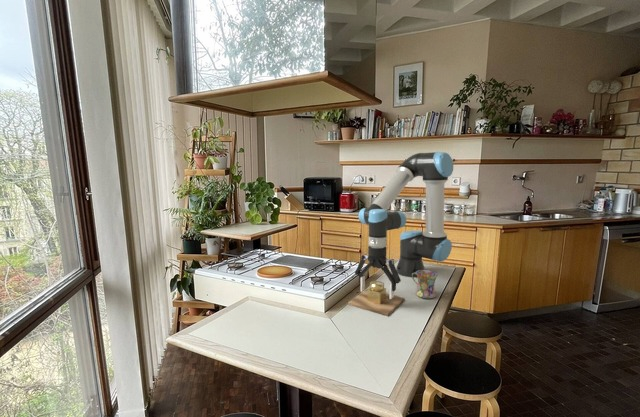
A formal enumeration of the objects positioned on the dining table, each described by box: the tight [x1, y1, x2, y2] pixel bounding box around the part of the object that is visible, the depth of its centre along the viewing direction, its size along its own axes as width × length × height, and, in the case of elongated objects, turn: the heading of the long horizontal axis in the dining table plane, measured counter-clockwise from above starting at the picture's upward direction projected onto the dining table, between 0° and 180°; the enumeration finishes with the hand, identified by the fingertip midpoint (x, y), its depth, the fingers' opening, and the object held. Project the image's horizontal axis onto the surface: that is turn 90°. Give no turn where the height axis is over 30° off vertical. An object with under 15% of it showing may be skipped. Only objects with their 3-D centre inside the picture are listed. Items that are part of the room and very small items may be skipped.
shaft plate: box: [347, 288, 405, 317], centre depth 132 cm, size 18×18×5 cm
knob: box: [367, 280, 387, 304], centre depth 132 cm, size 6×6×8 cm
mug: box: [411, 269, 438, 299], centre depth 139 cm, size 12×9×11 cm
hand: (376, 294), depth 132 cm, fingers open, 13 cm apart
